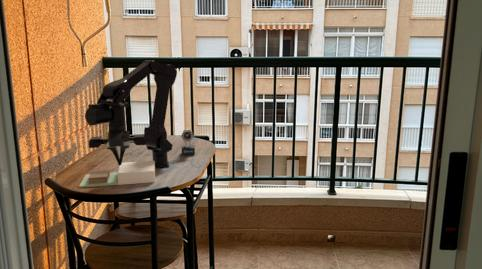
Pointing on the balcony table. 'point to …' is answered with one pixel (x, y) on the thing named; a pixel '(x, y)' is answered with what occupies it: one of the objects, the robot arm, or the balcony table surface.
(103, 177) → the walnut tile
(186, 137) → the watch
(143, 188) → the balcony table surface
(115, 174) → the sage green mat
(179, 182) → the balcony table surface
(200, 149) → the balcony table surface
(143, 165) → the block
